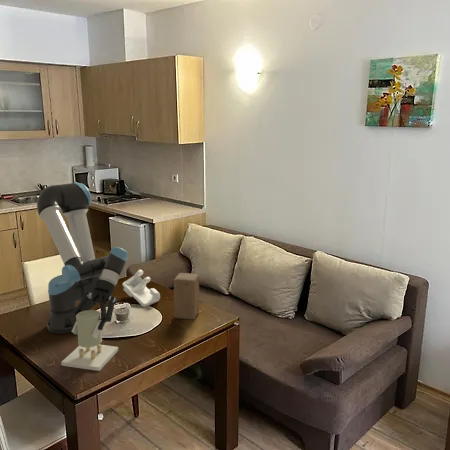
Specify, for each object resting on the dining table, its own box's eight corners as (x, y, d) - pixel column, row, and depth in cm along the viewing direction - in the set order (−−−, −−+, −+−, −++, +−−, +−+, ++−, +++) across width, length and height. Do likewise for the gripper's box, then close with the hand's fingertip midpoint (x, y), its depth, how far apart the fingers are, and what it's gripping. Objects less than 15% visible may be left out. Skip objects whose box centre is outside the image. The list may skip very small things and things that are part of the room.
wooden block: (194, 320, 217) (193, 280, 212) (173, 318, 218) (173, 278, 214) (199, 311, 226) (199, 273, 221) (180, 310, 228) (179, 271, 223)
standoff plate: (61, 365, 178) (60, 354, 176) (83, 345, 193) (82, 335, 192) (99, 370, 174) (98, 360, 173) (118, 350, 189) (117, 340, 188)
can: (84, 335, 187) (81, 308, 184) (105, 337, 185) (104, 309, 182) (73, 346, 178) (71, 318, 175) (96, 348, 176) (94, 319, 174)
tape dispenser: (156, 308, 242) (164, 290, 236) (140, 315, 233) (148, 296, 227) (133, 283, 250) (140, 265, 244) (116, 290, 241) (123, 271, 235)
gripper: (133, 290, 187) (111, 343, 177) (89, 283, 195) (66, 333, 185) (125, 282, 181) (102, 337, 171) (80, 275, 189) (56, 327, 178)
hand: (84, 335), depth 178 cm, fingers closed on can, 9 cm apart
